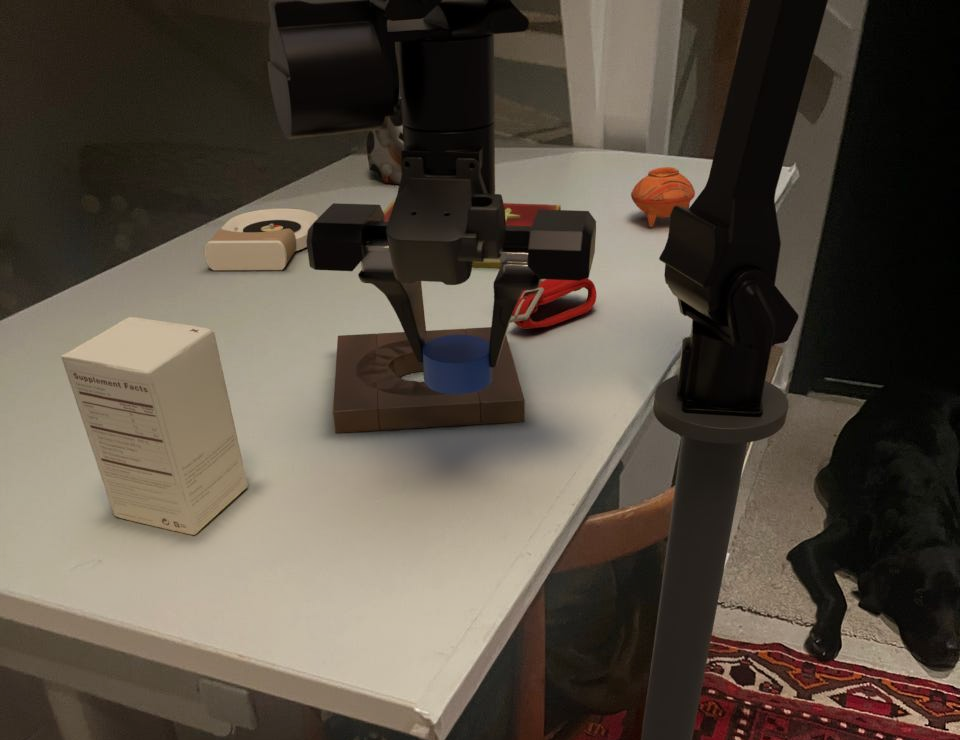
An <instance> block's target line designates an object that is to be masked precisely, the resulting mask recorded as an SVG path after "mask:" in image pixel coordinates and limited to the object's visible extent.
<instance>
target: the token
mask: <svg viewBox="0 0 960 740" xmlns="http://www.w3.org/2000/svg"><path fill="white" fill-rule="evenodd" d="M489 344H490V343H489V342H488V341H486V340H485V339H482V338H480V337H476V336H471V335H448V336H442V337H438V338H435V339H433V340H431V341H429V342H427V343H426V344H425V345H424V347H423V350H422V352H423V368H424V371H423V382H425V384H426V385H427V386H428V387H429V388H430V389H432V390H434V391H437V392H440V393H445V394H467V393H473V392H476V391H479V390H482V389H484V388H486V387H487V386H488V385H489V384H490V383H491V381H492V367H490V359H489Z"/></svg>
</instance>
